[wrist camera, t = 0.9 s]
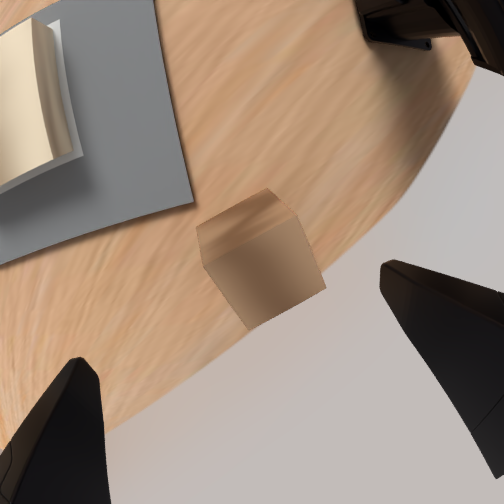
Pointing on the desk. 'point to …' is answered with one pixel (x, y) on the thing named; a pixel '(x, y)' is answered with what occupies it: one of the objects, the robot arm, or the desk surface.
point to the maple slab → (30, 101)
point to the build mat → (100, 130)
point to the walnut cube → (259, 258)
